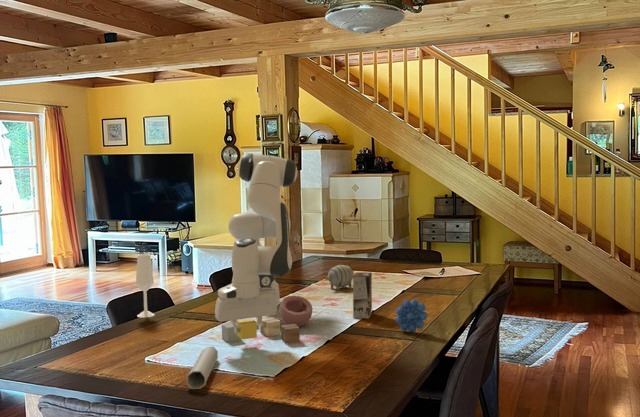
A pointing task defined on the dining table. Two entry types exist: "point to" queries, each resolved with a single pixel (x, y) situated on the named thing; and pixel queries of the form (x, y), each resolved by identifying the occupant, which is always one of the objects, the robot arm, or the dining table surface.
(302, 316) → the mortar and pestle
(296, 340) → the walnut cube
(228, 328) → the grey cube
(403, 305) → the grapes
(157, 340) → the dining table surface
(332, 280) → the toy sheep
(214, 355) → the tube
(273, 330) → the beech cube
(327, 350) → the dining table surface
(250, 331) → the mustard cube
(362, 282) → the coffee box
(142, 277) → the champagne flute
